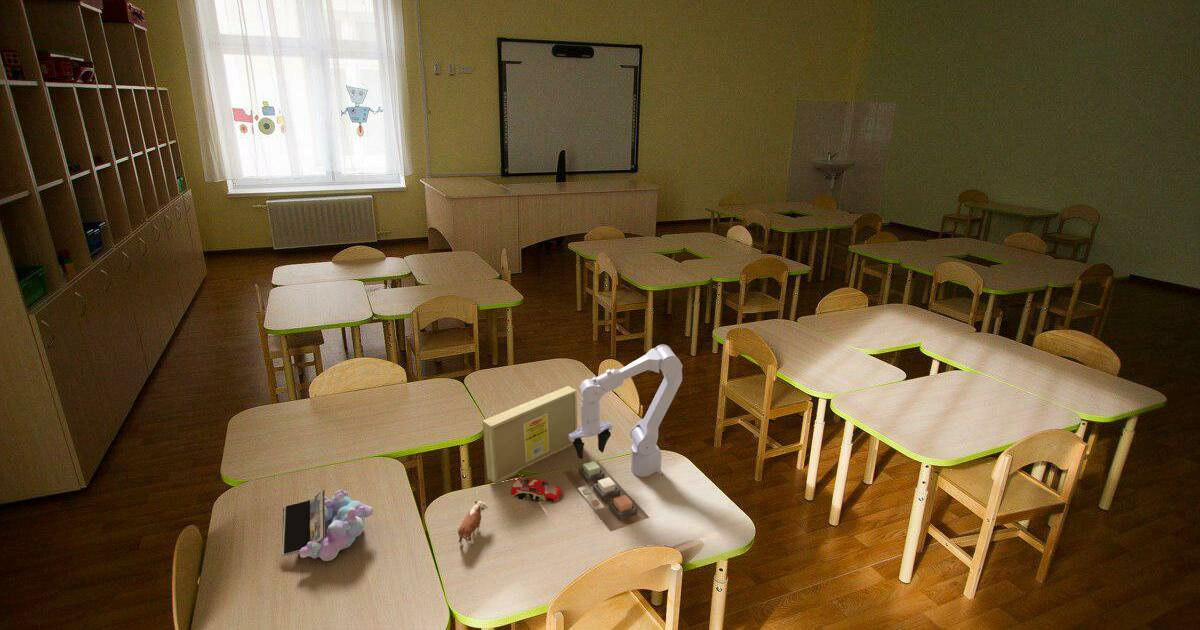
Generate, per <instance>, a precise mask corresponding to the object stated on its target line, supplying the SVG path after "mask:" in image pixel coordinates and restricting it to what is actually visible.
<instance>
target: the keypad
mask: <svg viewBox="0 0 1200 630" xmlns="http://www.w3.org/2000/svg"><path fill="white" fill-rule="evenodd" d="M595 462H596V463H597V464H598V466H599V467H600V473H598V474H595V475H592V476H589V477H588V475H587V474H586V473H585V472H584V471H583V465H581V466H578V467H576V468H572V469H569V470H567V471H566V470H565V471H562V474H563V475H564V476H565V477H566V479H567V480H568V481H569V482H570V484H571V485H572V486H573V487H574V489H575V490H576V491H577V492H578V494H580V496H581V498H583V500H584V501H585V502H586V503H587V504H588V506H589V507H590V508H591V509H592V511H593V512H594V513H595V514H596V515H597V517H598V518H599V520H601V522H602V523H603V524H604V526H605V527H606V528H607V529H608V530H609V531H610V532H613V531H616V530H618V529H621V528H624V527H627V526H630V525H632V524H635V523H638V522H641V521H642V520H643V521H644V520H646V519H648V518H650V516H649V515H648V514H647V512H645V510H643V509H642V507H640V505H639V504H638V503H637V502H636V501H635V500H634V499H633V498H632V497H631V495H629V494H628V493H627V491H626V490H625V489H624V488H623V487H622V486H621V485H620V484H619V483H618V481H617V480H615V479H614V477H613V476H612V475H611V474H610V473H609V472H608V471H607V470H606V469H605V468H604V467H603V465H602V464H601V463H600V462H599V461H595ZM608 477H609V478H610V479H611V480H612V481H613V482H614V483H615V490H614V491H611V492H608V493H605V494H603V493H602V492H601V490H600V489H599V488H598V481H599V480H602V479H605V478H608ZM623 495H626V496H627V497H628V498H629V499H630V500H631V501H632V509H630V510H627V511H624V512H621V513H620V512H619V511H618V510H617V509H616V508H615V506H614V499H615V498H618V497H621V496H623Z"/></svg>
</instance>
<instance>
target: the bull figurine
mask: <svg viewBox="0 0 1200 630" xmlns="http://www.w3.org/2000/svg"><path fill="white" fill-rule="evenodd" d="M474 504H475V505H474V506H472V508H471V509H470V510H469V511H468V513H467V514H466V515H465V516H464V519H463V520H462V522H461V524H460V526H459V527H458V529H457V534H458V536H459V540H458V543H459V547H463V546H464V544H463V539H464V540H465V543H466V544H467V545H469V544H471V545H473V544H475V541H474V540H473V539H472V534H473V532H475V533H477V534H480V533H481V530H480V525H481V521H482V514H481V513H482V512H483V511H485V510H487V509H488V508H489V505H488V504H486V502H484V501H482V500H479V501H478V500H475V501H474Z"/></svg>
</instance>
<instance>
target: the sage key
mask: <svg viewBox="0 0 1200 630" xmlns="http://www.w3.org/2000/svg"><path fill="white" fill-rule="evenodd" d="M596 462H597V461H594V460H592V461H590V462H585V463H583V464H582V466H583V471H584V472H585V473H586V474H587V475H588V477H589V476H592V475H595V474H598V473H600V467H599V466H598V464H597V463H596Z"/></svg>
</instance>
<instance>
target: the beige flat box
mask: <svg viewBox="0 0 1200 630" xmlns="http://www.w3.org/2000/svg"><path fill="white" fill-rule="evenodd" d="M577 394H578V393H577V389H575V388H573V387H571V386H569V385H566V386H564V387H562V388H559V389H557V390H555V391H552V392H550V393H547V394H544V395H543V396H539V397H537V398H535V399H532V400H529V401H528V402H524V403H521V404H519V405H516V406H515V407H512V408H509V409H507V410H505V411H503V412H500V413H498V414H495V415H493V416H490V417H488V418H486V419H483V420H482V429H483V430H482V431H483V441H484V442H483V443H484V453H485V462H486V473H487V474H486V475H487V479H488V480H489V481H490V482H492V483H493V484H494V485H498V484H500V483H502V482H504V481H506V480H508V479H510V478H512V477H514V476H517V474H519V473H520V472H519V471H521V470H523V469H525V467H526V468H527V467H529V466H532V465H534V464H536V463H537V462H539V461H542V460H543V459H546V458H547V457H549V456H552V455H554V454H556V453H558V452H560V451H563V450H564V449H566V448H569V447H571V446H572V445H573V446H574V444H573V443H572V442H571V441H570V440H569V434H570V433H573V432H574V431H576V430H578V407H577V406H578V405H577V404H578V402H577V401H578V396H577ZM497 483H498V484H497Z"/></svg>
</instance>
